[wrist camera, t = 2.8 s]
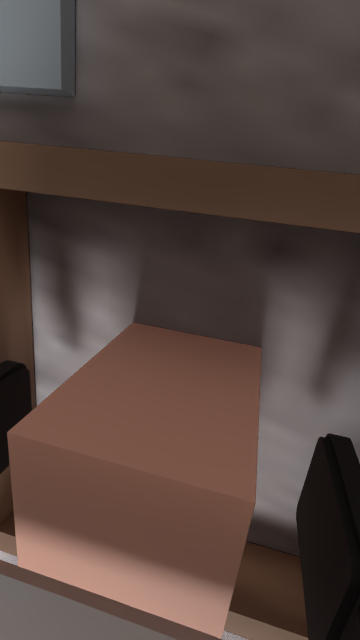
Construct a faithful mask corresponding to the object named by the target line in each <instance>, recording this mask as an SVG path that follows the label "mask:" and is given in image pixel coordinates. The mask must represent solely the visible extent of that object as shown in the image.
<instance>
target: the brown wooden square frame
mask: <svg viewBox="0 0 360 640" xmlns="http://www.w3.org/2000/svg"><path fill="white" fill-rule="evenodd" d="M26 191H27V192H35V193H43V194H51V195H59V196H67V197H75V198H83V199H91V200H99V201H107V202H115V203H123V204H130V205H138V206H146V207H154V208H162V209H170V210H178V211H186V212H194V213H202V214H210V215H218V216H226V217H234V218H242V219H250V220H258V221H266V222H274V223H282V224H290V225H298V226H306V227H314V228H322V229H330V230H338V231H346V232H354V233H360V175H356V174H345V173H334V172H324V171H313V170H303V169H292V168H282V167H271V166H261V165H250V164H239V163H229V162H218V161H208V160H197V159H187V158H176V157H166V156H155V155H144V154H134V153H123V152H113V151H102V150H92V149H81V148H70V147H60V146H49V145H39V144H28V143H18V142H7V141H0V363H2V362H3V361H6V360H11V361H15V362H19V363H23V364H25V366H26V368H27V369H28V370H29V372H30V384H31V400H32V410H33V409H34V408H36V395H35V374H34V352H33V330H32V309H31V287H30V265H29V244H28V222H27V200H26ZM0 550H1V551H4V552H6V553H9V554H12V555H15V556H17V546H16V534H15V522H14V510H13V498H12V486H11V474H10V465H9V466H8V467H7V468H6V469H5V470H4V471H3V472H2V473H1V474H0ZM224 630H225V631H227V632H230V633H233V634H236V635H238V636H241V637H244V638H247V639H250V640H308V631H307V621H306V611H305V601H304V591H303V580H302V570H301V560H300V558H299V557H296V556H293V555H289V554H286V553H283V552H280V551H276V550H273V549H270V548H266V547H263V546H260V545H256V544H253V543H250V542H247V541H246V543H245V547H244V551H243V555H242V559H241V563H240V566H239V570H238V574H237V578H236V582H235V586H234V590H233V594H232V598H231V602H230V606H229V610H228V614H227V618H226V622H225V626H224Z"/></svg>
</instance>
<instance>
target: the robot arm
mask: <svg viewBox="0 0 360 640" xmlns="http://www.w3.org/2000/svg"><path fill="white" fill-rule="evenodd" d="M31 411H32V400H31V384H30V372H29V370H28V369H27V368H26V366H25V364H23V363H19V362H15V361H11V360H6V361H3V362H2V363H0V474H1V473H2V472H3V471H4V470H5V469H6V468H7V467H8V466H9V465H10V462H9V450H8V438H7V432H8V431H9V430H10V429H12V428H13V427H14V426H15V425H16V424H17V423H18V422H20V421H21V420H22V419H23V418H24V417H25V416H26V415H28V414H29V413H30V412H31ZM296 520H297V530H298V540H299V550H300V560H301V570H302V580H303V591H304V601H305V611H306V621H307V631H308V640H360V463H359V461H358V458H357V455H356V452H355V450H354V447H353V444H352V441H351V439H350V438H347V437H343V436H338V435H334V434H327V435H326V437H325V438H324V437H319V439H318V441H317V445H316V448H315V451H314V454H313V457H312V461H311V464H310V467H309V470H308V473H307V476H306V480H305V483H304V486H303V489H302V492H301V496H300V499H299V502H298V505H297V512H296ZM0 640H222V639H220V638H217V637H214V636H212V635H209V634H207V633H204V632H201V631H198V630H196V629H193V628H190V627H187V626H184V625H182V624H179V623H176V622H173V621H171V620H168V619H165V618H162V617H159V616H157V615H154V614H151V613H148V612H145V611H143V610H140V609H137V608H134V607H132V606H129V605H126V604H123V603H120V602H118V601H115V600H112V599H109V598H107V597H104V596H101V595H98V594H95V593H93V592H90V591H87V590H84V589H81V588H78V587H76V586H73V585H70V584H67V583H64V582H61V581H59V580H56V579H53V578H50V577H47V576H44V575H42V574H39V573H36V572H33V571H30V570H27V569H25V568H22V567H19V566H16V565H13V564H10V563H8V562H5V561H2V560H0Z"/></svg>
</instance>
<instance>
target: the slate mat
mask: <svg viewBox="0 0 360 640" xmlns="http://www.w3.org/2000/svg"><path fill="white" fill-rule="evenodd" d="M0 92H1V93H17V94H33V95H48V96H64V97H75V0H0Z"/></svg>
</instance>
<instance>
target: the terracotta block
mask: <svg viewBox="0 0 360 640" xmlns="http://www.w3.org/2000/svg"><path fill="white" fill-rule="evenodd" d="M261 349H262V348H261V347H256V346H251V345H246V344H241V343H235V342H230V341H225V340H220V339H215V338H210V337H205V336H200V335H195V334H190V333H184V332H179V331H174V330H169V329H164V328H159V327H154V326H149V325H144V324H139V323H132V324H131V325H130V326H128V327H127V328H126V329H125V330H124V331H123V332H122V333H120V334H119V335H118V336H117V337H116V338H115V339H114V340H112V341H111V342H110V343H109V344H108V345H107V346H106V347H104V348H103V349H102V350H101V351H100V352H99V353H98V354H96V355H95V356H94V357H93V358H92V359H91V360H90V361H88V362H87V363H86V364H85V365H84V366H83V367H81V368H80V369H79V370H78V371H77V372H76V373H75V374H73V375H72V376H71V377H70V378H69V379H68V380H67V381H65V382H64V383H63V384H62V385H61V386H60V387H59V388H57V389H56V390H55V391H54V392H53V393H52V394H51V395H49V396H48V397H47V398H46V399H45V400H44V401H43V402H41V403H40V404H39V405H38V406H37V407H36V408H34V409H33V410H32V411H31V412H30V413H29V414H28V415H26V416H25V417H24V418H23V419H22V420H21V421H20V422H18V423H17V424H16V425H15V426H14V427H13V428H12V429H10V430H9V431H8V432H7V438H8V450H9V462H10V474H11V486H12V498H13V510H14V522H15V534H16V546H17V558H18V566H19V567H22V568H25V569H27V570H30V571H33V572H36V573H39V574H42V575H44V576H47V577H50V578H53V579H56V580H59V581H61V582H64V583H67V584H70V585H73V586H76V587H78V588H81V589H84V590H87V591H90V592H93V593H95V594H98V595H101V596H104V597H107V598H109V599H112V600H115V601H118V602H120V603H123V604H126V605H129V606H132V607H134V608H137V609H140V610H143V611H145V612H148V613H151V614H154V615H157V616H159V617H162V618H165V619H168V620H171V621H173V622H176V623H179V624H182V625H184V626H187V627H190V628H193V629H196V630H198V631H201V632H204V633H207V634H209V635H212V636H214V637H217V638H220V639H221V638H222V634H223V630H224V626H225V622H226V618H227V614H228V610H229V606H230V602H231V598H232V594H233V590H234V586H235V582H236V578H237V574H238V570H239V566H240V563H241V559H242V555H243V551H244V547H245V543H246V539H247V535H248V531H249V527H250V523H251V519H252V515H253V511H254V507H255V503H256V478H257V452H258V427H259V401H260V375H261Z"/></svg>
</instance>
